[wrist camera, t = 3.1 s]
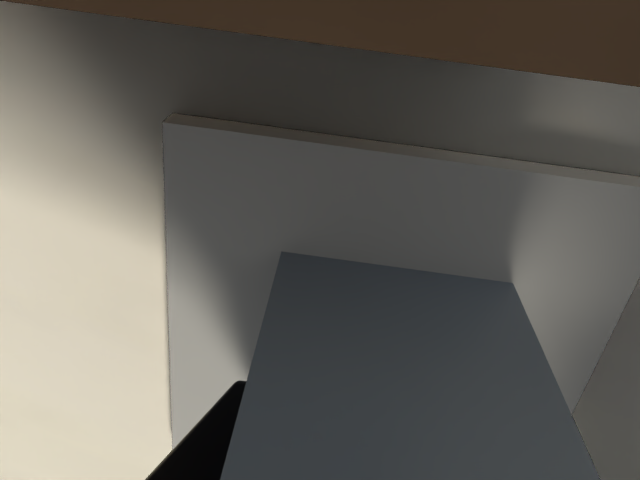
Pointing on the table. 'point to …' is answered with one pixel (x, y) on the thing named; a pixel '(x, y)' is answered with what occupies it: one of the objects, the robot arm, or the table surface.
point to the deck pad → (380, 239)
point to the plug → (399, 382)
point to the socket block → (425, 28)
